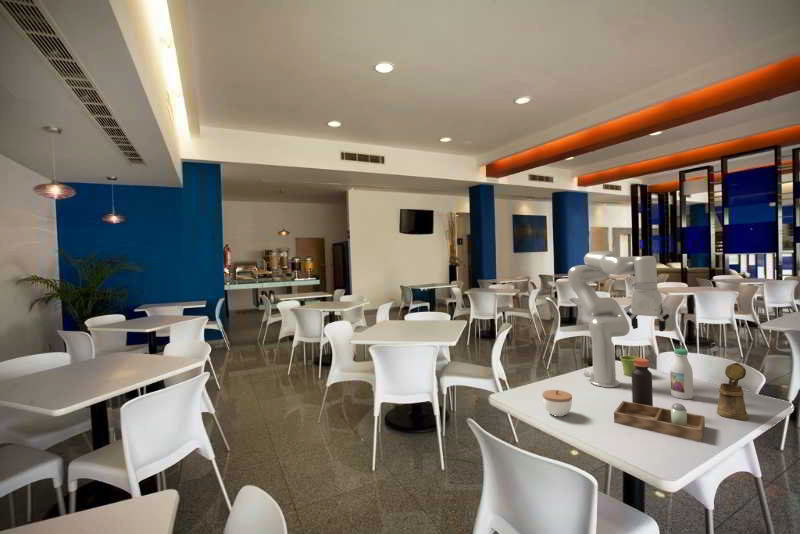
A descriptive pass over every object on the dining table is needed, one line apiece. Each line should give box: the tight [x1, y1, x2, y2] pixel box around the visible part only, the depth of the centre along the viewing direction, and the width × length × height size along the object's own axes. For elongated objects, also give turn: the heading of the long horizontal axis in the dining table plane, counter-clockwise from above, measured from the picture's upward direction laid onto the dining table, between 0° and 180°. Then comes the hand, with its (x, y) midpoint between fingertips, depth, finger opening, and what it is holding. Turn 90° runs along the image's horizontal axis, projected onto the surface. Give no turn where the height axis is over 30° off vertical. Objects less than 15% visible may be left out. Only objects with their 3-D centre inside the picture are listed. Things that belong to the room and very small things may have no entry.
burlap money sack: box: [716, 362, 749, 421], centre depth 145 cm, size 9×14×18 cm, turn 127°
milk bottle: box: [669, 348, 694, 400], centre depth 164 cm, size 8×8×20 cm
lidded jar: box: [542, 389, 573, 417], centre depth 151 cm, size 11×11×9 cm
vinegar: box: [631, 357, 654, 407], centre depth 151 cm, size 7×7×20 cm
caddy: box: [613, 400, 706, 443], centre depth 137 cm, size 25×14×4 cm, turn 48°
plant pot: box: [619, 355, 640, 378], centre depth 195 cm, size 9×9×9 cm
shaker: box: [670, 402, 688, 427], centre depth 133 cm, size 4×4×9 cm
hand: (648, 329), depth 155 cm, fingers open, 9 cm apart
